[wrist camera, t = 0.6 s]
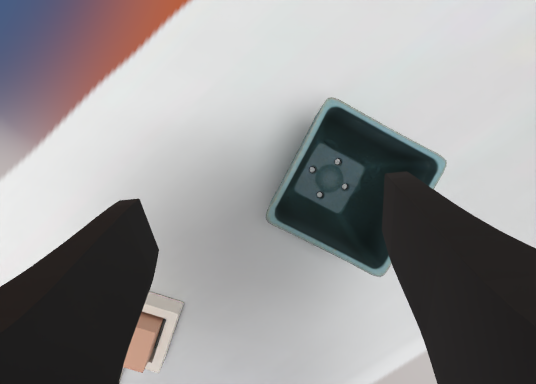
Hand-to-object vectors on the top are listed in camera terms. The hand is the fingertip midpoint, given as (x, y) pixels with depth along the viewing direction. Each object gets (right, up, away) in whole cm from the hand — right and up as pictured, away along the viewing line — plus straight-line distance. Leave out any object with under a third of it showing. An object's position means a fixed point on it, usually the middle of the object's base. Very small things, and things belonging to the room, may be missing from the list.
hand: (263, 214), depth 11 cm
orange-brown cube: (-11, -11, +20) cm, 25 cm away
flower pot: (+5, +2, +21) cm, 22 cm away
